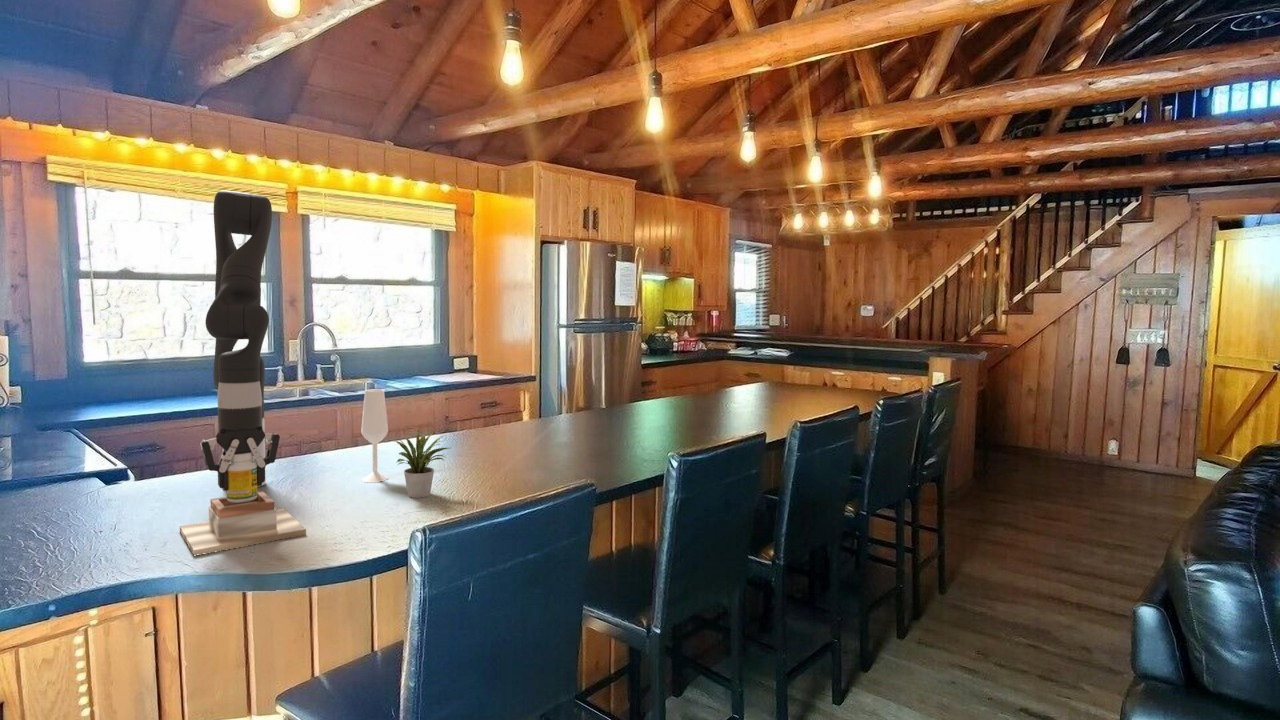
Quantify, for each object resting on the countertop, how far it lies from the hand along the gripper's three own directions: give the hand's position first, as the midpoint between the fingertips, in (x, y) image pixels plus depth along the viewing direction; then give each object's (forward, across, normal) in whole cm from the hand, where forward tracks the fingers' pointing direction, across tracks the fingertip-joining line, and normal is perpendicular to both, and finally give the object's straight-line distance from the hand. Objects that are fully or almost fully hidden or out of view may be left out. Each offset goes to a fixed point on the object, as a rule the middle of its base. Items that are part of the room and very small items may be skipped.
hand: (241, 487), depth 133 cm
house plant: (+10, -38, -4) cm, 39 cm away
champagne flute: (+10, -36, -26) cm, 45 cm away
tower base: (+10, 0, 0) cm, 10 cm away
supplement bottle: (+3, 0, 0) cm, 3 cm away
